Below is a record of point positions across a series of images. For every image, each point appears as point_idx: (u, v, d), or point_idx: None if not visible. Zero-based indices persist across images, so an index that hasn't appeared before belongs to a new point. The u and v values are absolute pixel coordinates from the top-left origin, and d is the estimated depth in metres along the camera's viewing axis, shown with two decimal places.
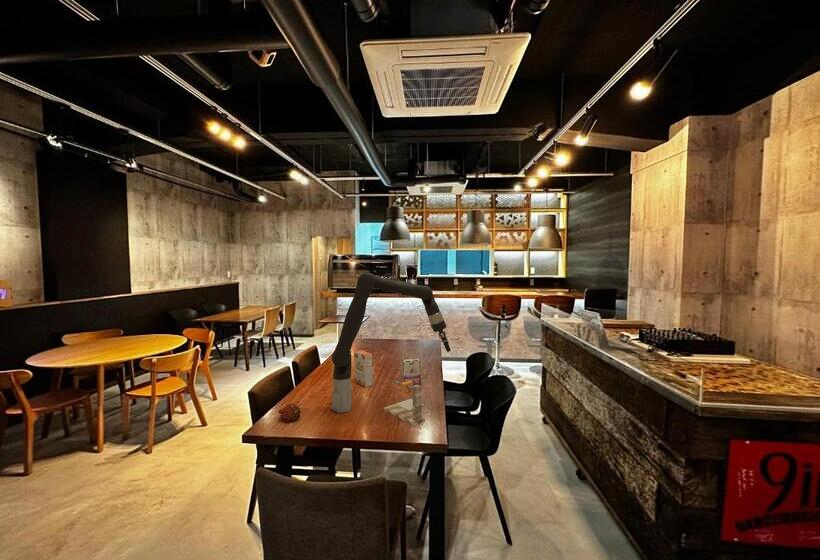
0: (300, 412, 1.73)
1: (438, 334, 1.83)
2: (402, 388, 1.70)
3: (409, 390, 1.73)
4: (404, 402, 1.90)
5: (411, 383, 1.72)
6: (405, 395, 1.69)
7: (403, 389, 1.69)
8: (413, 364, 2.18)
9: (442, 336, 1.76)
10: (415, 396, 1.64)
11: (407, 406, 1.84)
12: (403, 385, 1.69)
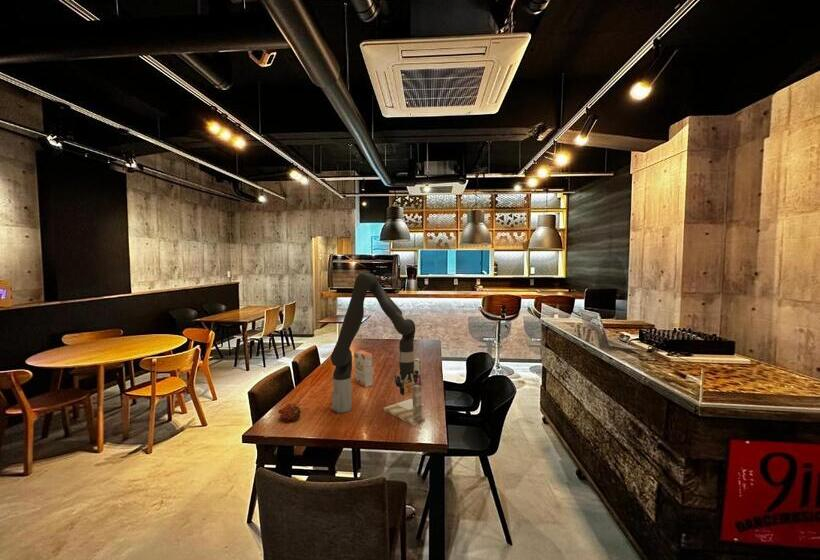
0: (300, 412, 1.73)
1: None
2: None
3: (409, 390, 1.73)
4: (404, 402, 1.90)
5: (411, 383, 1.72)
6: (405, 395, 1.69)
7: None
8: None
9: (396, 378, 1.67)
10: (415, 396, 1.64)
11: (407, 406, 1.84)
12: None
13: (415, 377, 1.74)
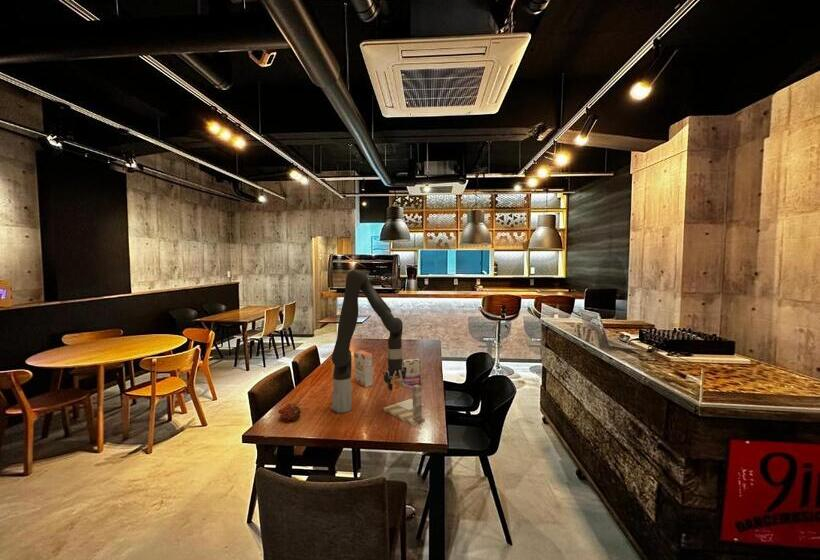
0: (300, 412, 1.73)
1: None
2: None
3: (397, 385, 1.79)
4: (404, 402, 1.90)
5: (399, 379, 1.79)
6: (393, 390, 1.76)
7: None
8: (413, 364, 2.18)
9: (384, 374, 1.74)
10: (415, 396, 1.64)
11: (407, 406, 1.84)
12: None
13: (403, 373, 1.81)
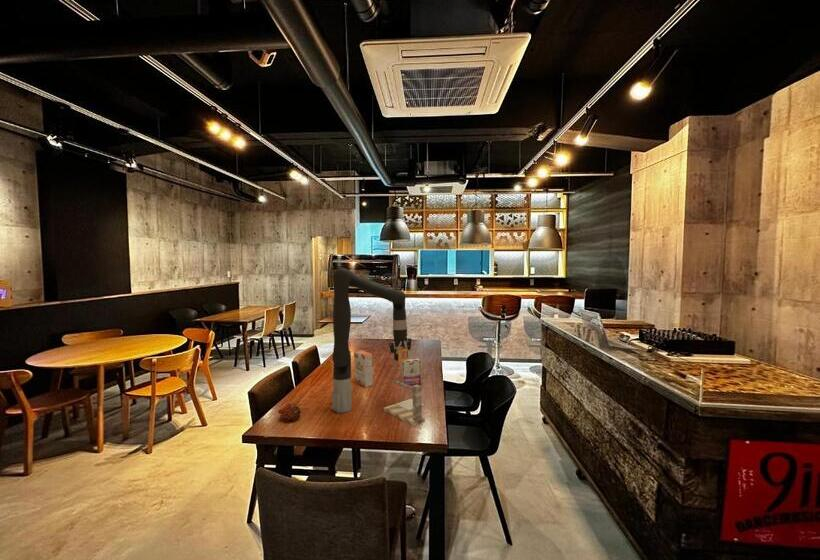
0: (300, 412, 1.73)
1: None
2: None
3: (403, 356, 1.85)
4: (404, 402, 1.90)
5: (405, 349, 1.84)
6: (399, 360, 1.81)
7: None
8: (413, 364, 2.18)
9: (390, 344, 1.79)
10: (415, 396, 1.64)
11: (407, 406, 1.84)
12: None
13: (408, 344, 1.86)
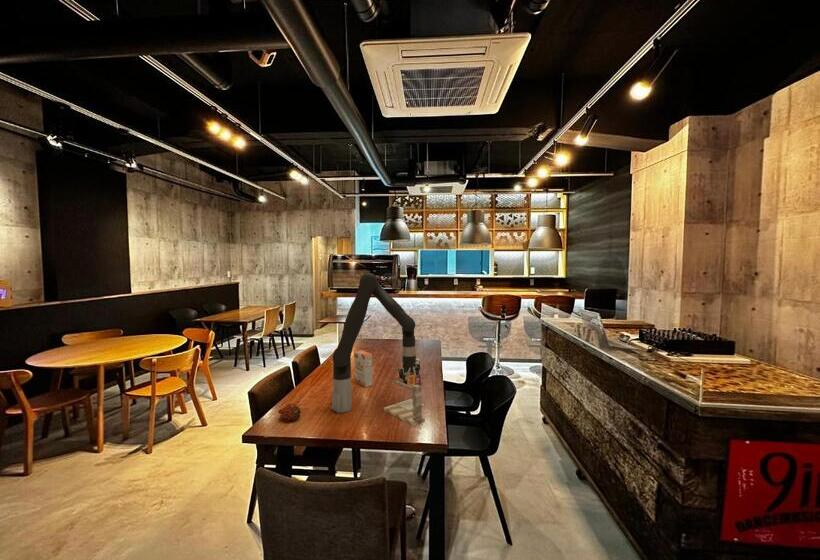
0: (300, 412, 1.73)
1: None
2: None
3: (412, 382, 1.88)
4: (404, 402, 1.90)
5: (413, 375, 1.87)
6: None
7: None
8: None
9: (399, 371, 1.83)
10: (415, 396, 1.64)
11: (407, 406, 1.84)
12: None
13: (417, 370, 1.90)
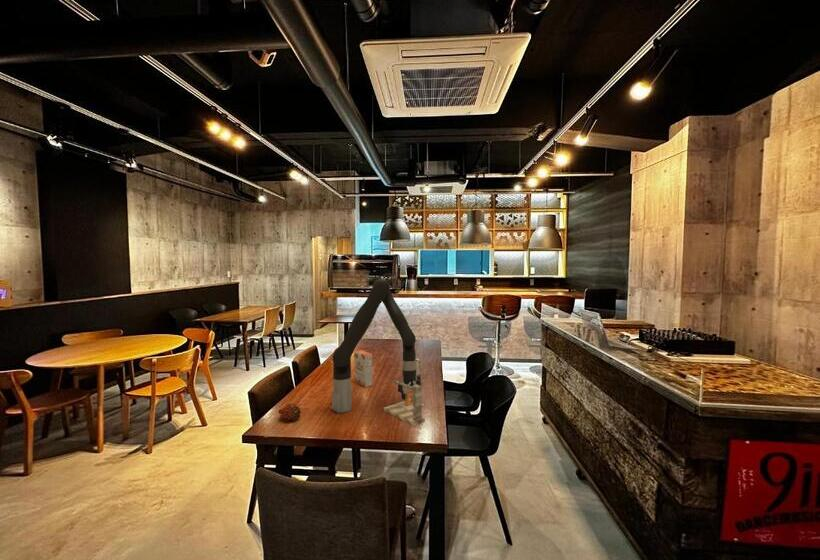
0: (300, 412, 1.73)
1: None
2: (405, 398, 1.86)
3: (412, 399, 1.88)
4: (404, 402, 1.90)
5: None
6: (408, 404, 1.85)
7: (406, 399, 1.85)
8: None
9: None
10: (415, 396, 1.64)
11: (407, 406, 1.84)
12: (406, 395, 1.85)
13: (418, 382, 1.91)
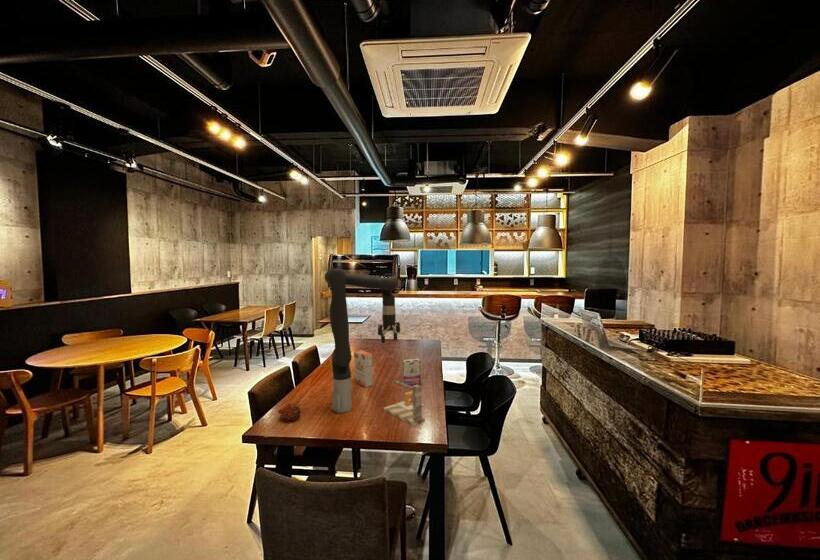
0: (300, 412, 1.73)
1: None
2: (405, 398, 1.86)
3: (412, 399, 1.88)
4: (404, 402, 1.90)
5: None
6: (408, 404, 1.85)
7: (406, 399, 1.85)
8: (413, 364, 2.18)
9: (378, 326, 1.92)
10: (415, 396, 1.64)
11: (407, 406, 1.84)
12: (406, 395, 1.85)
13: (397, 328, 1.99)
